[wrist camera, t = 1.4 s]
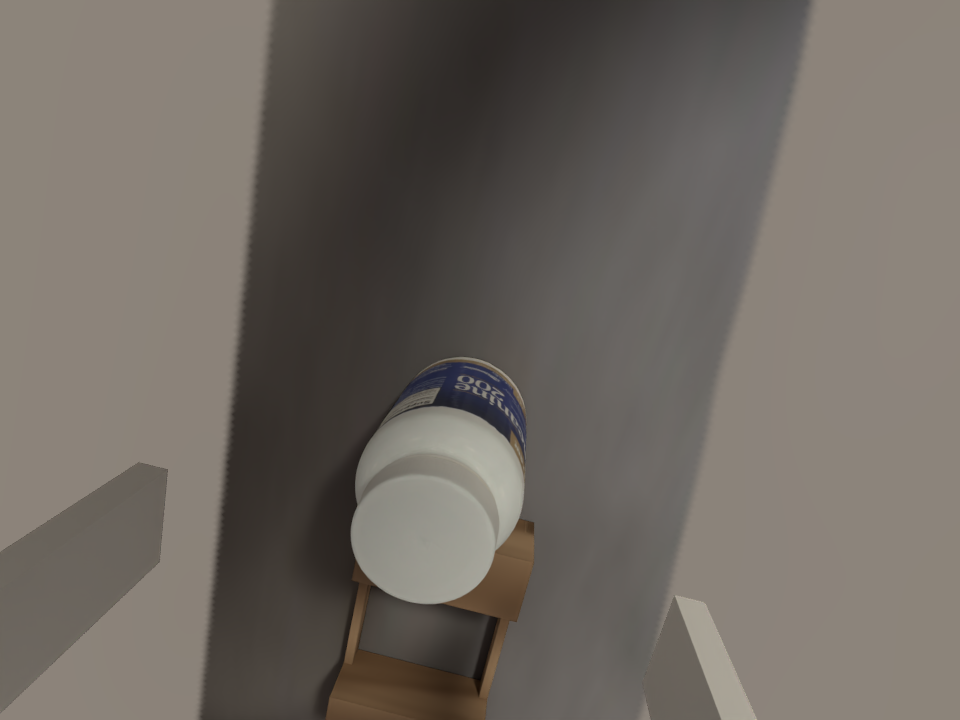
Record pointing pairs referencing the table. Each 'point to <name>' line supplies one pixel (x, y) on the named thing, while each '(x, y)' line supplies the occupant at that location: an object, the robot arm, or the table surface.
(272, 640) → the table surface
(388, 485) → the pill bottle
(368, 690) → the brown wooden rack
